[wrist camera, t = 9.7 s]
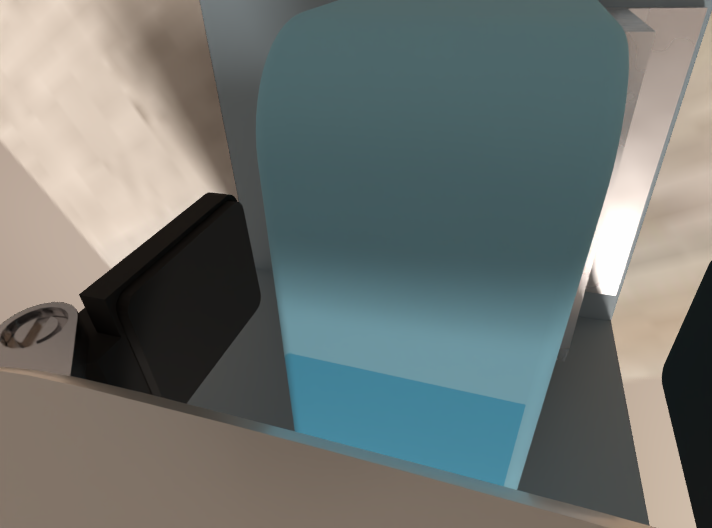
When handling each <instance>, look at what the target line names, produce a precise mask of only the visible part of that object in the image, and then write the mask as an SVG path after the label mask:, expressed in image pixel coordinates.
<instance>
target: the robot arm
mask: <svg viewBox="0 0 712 528" xmlns="http://www.w3.org/2000/svg"><path fill="white" fill-rule="evenodd" d="M79 295H80V297H81V300H82V302H83V304H84V306H85V308H84V309H83V310H82V311H80V312H79V313H78V312H77V310H76V309H75V308H74V307H73V306H72V305H70V304H67V303H64V302H51V303H45V304H40V305H36V306H33V307H30V308H27V309H25V310H23V311H21V312H19V313H17V314H15V315H14V316H12V317H10V318H9V319H7V320H6V321H4V322H3V323H2V324H1V325H0V528H655V527H652V526H648V525H644V524H641V523H637V522H634V521H630V520H627V519H623V518H620V517H616V516H612V515H609V514H605V513H602V512H598V511H594V510H590V509H587V508H583V507H579V506H575V505H572V504H568V503H564V502H560V501H557V500H553V499H549V498H545V497H542V496H538V495H534V494H530V493H526V492H523V491H519V490H515V489H511V488H508V487H504V486H500V485H496V484H493V483H489V482H485V481H481V480H478V479H474V478H470V477H466V476H463V475H459V474H455V473H451V472H448V471H444V470H440V469H436V468H433V467H429V466H425V465H421V464H417V463H413V462H410V461H406V460H402V459H398V458H394V457H390V456H387V455H383V454H379V453H375V452H371V451H368V450H364V449H360V448H356V447H352V446H348V445H345V444H341V443H337V442H333V441H329V440H325V439H321V438H318V437H314V436H310V435H306V434H302V433H298V432H295V431H291V430H287V429H283V428H279V427H275V426H271V425H268V424H264V423H260V422H256V421H252V420H248V419H244V418H240V417H236V416H232V415H228V414H224V413H221V412H217V411H213V410H209V409H205V408H201V407H197V406H193V405H189V404H187V402H188V401H189V400H190V398H191V397H192V396H193V394H194V393H195V392H196V390H197V389H198V388H199V386H200V385H201V384H202V382H203V381H204V380H205V378H206V377H207V376H208V374H209V373H210V372H211V370H212V369H213V368H214V366H215V365H216V364H217V362H218V361H219V360H220V358H221V357H222V356H223V354H224V353H225V352H226V350H227V349H228V348H229V346H230V345H231V344H232V342H233V341H234V340H235V338H236V337H237V336H238V334H239V333H240V332H241V330H242V329H243V328H244V326H245V325H246V324H247V323H248V321H249V320H250V319H251V317H252V316H253V315H254V313H255V312H256V311H257V309H258V307H259V305H260V301H261V292H260V287H259V282H258V277H257V273H256V268H255V263H254V258H253V253H252V248H251V243H250V238H249V233H248V228H247V223H246V219H245V214H244V209H243V206H242V204H241V203H240V202H237V200H236V198H235V197H234V196H232V195H227V194H218V193H207V194H205V195H204V196H202V197H201V198H200V199H199V200H197V201H196V202H195V203H194V204H192V205H191V206H190V207H189V208H187V209H186V210H185V211H184V212H182V213H181V214H180V215H179V216H177V217H176V218H175V219H173V220H172V221H171V222H170V223H168V224H167V225H166V226H165V227H163V228H162V229H161V230H160V231H158V232H157V233H156V234H155V235H153V236H152V237H151V238H150V239H148V240H147V241H146V242H145V243H143V244H142V245H141V246H140V247H138V248H137V249H136V250H134V251H133V252H132V253H131V254H129V255H128V256H127V257H126V258H124V259H123V260H122V261H121V262H119V263H118V264H117V265H116V266H114V267H113V268H112V269H111V270H109V271H108V272H107V273H106V274H104V275H103V276H102V277H101V278H99V279H98V280H97V281H95V282H94V283H93V284H92V285H90V286H89V287H88V288H87V289H86V290H84V291H83V292H82V293H80V294H79ZM662 385H663V389H664V393H665V398H666V402H667V406H668V410H669V414H670V418H671V422H672V427H673V431H674V435H675V439H676V443H677V447H678V451H679V456H680V460H681V464H682V468H683V472H684V477H685V480H686V485H687V489H688V493H689V497H690V502H691V506H692V510H693V514H694V518H695V522H696V527H697V528H712V261H711V262H710V264H709V266H708V268H707V270H706V272H705V275H704V277H703V279H702V281H701V284H700V286H699V288H698V290H697V292H696V295H695V297H694V299H693V301H692V304H691V306H690V308H689V310H688V313H687V315H686V317H685V319H684V322H683V324H682V326H681V328H680V331H679V333H678V335H677V337H676V340H675V342H674V344H673V346H672V348H671V351H670V353H669V355H668V357H667V360H666V362H665V364H664V367H663V372H662Z"/></svg>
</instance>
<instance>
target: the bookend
mask: <svg viewBox="0 0 712 528" xmlns="http://www.w3.org/2000/svg"><path fill="white" fill-rule="evenodd" d="M707 9H708V8H707V7H705V6H697V7H615V8H606V10H607V11H608V12H609V13H610V14H611V15H612V16H613V17H614V18H615V19H616V20H617V21H618V23H619V24H620V25H621V26H622V28H623V30H624V32H625V34H626V37H627V42H628V49H629V76H628V88H627V98H626V105H625V112H624V118H623V124H622V130H621V135H620V140H619V145H618V150H617V155H616V159H615V163H614V168H613V172H612V175H611V179H610V183H609V187H608V190H607V194H606V197H605V201H604V204H603V207H602V210H601V214H600V217H599V220H598V224H597V227H596V230H595V234H594V237H593V240H592V244H591V247H590V250H589V253H588V257H587V260H586V263H585V267H584V270H583V273H582V277H581V280H580V283H579V287H578V290H577V293H576V296H575V300H574V303H573V306H572V310H571V313H570V316H569V320H568V323H567V326H566V330H565V333H564V336H563V339H562V343H561V346H560V349H559V353H558V356H557V359H556V360H562V361H566V358H567V355H568V351H569V348H570V344H571V340H572V337H573V333H574V329H575V326H576V322H577V318H578V315H579V311H580V307H581V304H582V300H583V296H584V293H585V292H592V293H599V294H607V295H614V296H616V293H617V290H618V287H619V284H620V280H621V277H622V274H623V271H624V268H625V265H626V262H627V259H628V255H629V252H630V249H631V246H632V243H633V240H634V237H635V234H636V230H637V227H638V224H639V221H640V218H641V215H642V212H643V209H644V205H645V202H646V199H647V196H648V193H649V190H650V187H651V184H652V180H653V177H654V174H655V171H656V168H657V165H658V162H659V159H660V155H661V152H662V149H663V146H664V143H665V140H666V137H667V134H668V130H669V127H670V124H671V121H672V118H673V115H674V112H675V109H676V105H677V102H678V99H679V96H680V93H681V90H682V87H683V84H684V80H685V77H686V74H687V71H688V68H689V65H690V62H691V59H692V55H693V52H694V49H695V46H696V43H697V40H698V37H699V34H700V30H701V27H702V24H703V21H704V18H705V15H706V12H707Z"/></svg>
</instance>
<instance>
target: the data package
mask: <svg viewBox="0 0 712 528" xmlns="http://www.w3.org/2000/svg"><path fill="white" fill-rule="evenodd" d="M628 76H629V49H628V42H627V37H626V34H625V32H624V30H623V28H622V26H621V25H620V24H619V23H618V21H617V20H616V19H615V18H614V17H613V16H612V15H611V14H610V13H609V12H608V11H607V10H606V8H605V7H604V6H603V5H602V4H601V3H600V2H599V1H598V0H337V1H334V2H331V3H328V4H325V5H322V6H319V7H316V8H313V9H310V10H307V11H304V12H301V13H299V14H297V15H295V16H294V17H292V18H291V19H290V20H289V21H288V22H287V23H286V24H285V25H284V26H283V27H282V29H281V30H280V31H279V33H278V34H277V36H276V38H275V40H274V42H273V44H272V46H271V48H270V51H269V53H268V56H267V58H266V62H265V65H264V69H263V72H262V77H261V81H260V86H259V93H258V100H257V111H256V149H257V159H258V167H259V174H260V182H261V189H262V196H263V204H264V211H265V218H266V226H267V233H268V240H269V247H270V255H271V262H272V269H273V277H274V284H275V291H276V298H277V306H278V313H279V320H280V328H281V335H282V342H283V350H284V357H285V364H286V371H287V379H288V386H289V393H290V401H291V408H292V415H293V423H294V430H295V432H298V433H302V434H306V435H310V436H314V437H318V438H321V439H325V440H329V441H333V442H337V443H341V444H345V445H348V446H352V447H356V448H360V449H364V450H368V451H371V452H375V453H379V454H383V455H387V456H390V457H394V458H398V459H402V460H406V461H410V462H413V463H417V464H421V465H425V466H429V467H433V468H436V469H440V470H444V471H448V472H451V473H455V474H459V475H463V476H466V477H470V478H474V479H478V480H481V481H485V482H489V483H493V484H496V485H500V486H504V487H508V488H511V489H515V490H517V488H518V485H519V482H520V478H521V475H522V472H523V468H524V465H525V462H526V459H527V455H528V452H529V449H530V445H531V442H532V439H533V435H534V432H535V429H536V425H537V422H538V419H539V416H540V412H541V409H542V406H543V402H544V399H545V396H546V392H547V389H548V386H549V382H550V379H551V376H552V373H553V369H554V366H555V363H556V359H557V356H558V353H559V349H560V346H561V343H562V339H563V336H564V333H565V330H566V326H567V323H568V320H569V316H570V313H571V310H572V306H573V303H574V300H575V296H576V293H577V290H578V287H579V283H580V280H581V277H582V273H583V270H584V267H585V263H586V260H587V257H588V253H589V250H590V247H591V244H592V240H593V237H594V234H595V230H596V227H597V224H598V220H599V217H600V214H601V210H602V207H603V204H604V201H605V197H606V194H607V190H608V187H609V183H610V179H611V175H612V172H613V168H614V163H615V159H616V155H617V150H618V145H619V140H620V135H621V130H622V124H623V118H624V112H625V105H626V98H627V88H628Z"/></svg>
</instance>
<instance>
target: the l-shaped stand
mask: <svg viewBox="0 0 712 528" xmlns="http://www.w3.org/2000/svg"><path fill="white" fill-rule="evenodd" d="M334 1H337V0H200V5H201V10H202V15H203V20H204V25H205V30H206V35H207V40H208V46H209V51H210V56H211V61H212V66H213V71H214V76H215V81H216V86H217V92H218V97H219V102H220V107H221V112H222V117H223V122H224V127H225V132H226V138H227V143H228V148H229V153H230V158H231V163H232V168H233V173H234V178H235V184H236V189H237V194H238V199H239V202H240V203H241V204H242V206H243V209H244V214H245V219H246V223H247V228H248V233H249V238H250V243H251V248H252V253H253V258H254V263H255V268H256V273H257V277H258V282H259V287H260V292H261V301H260V305H259V307H258V309H257V311H256V312H255V313H254V315H253V316H252V317H251V319H250V320H249V321H248V323H247V324H246V325H245V326H244V328H243V329H242V330H241V332H240V333H239V334H238V336H237V337H236V338H235V340H234V341H233V342H232V344H231V345H230V346H229V348H228V349H227V350H226V352H225V353H224V354H223V356H222V357H221V358H220V360H219V361H218V362H217V364H216V365H215V366H214V368H213V369H212V370H211V372H210V373H209V374H208V376H207V377H206V378H205V380H204V381H203V382H202V384H201V385H200V386H199V388H198V389H197V390H196V392H195V393H194V394H193V396H192V397H191V398H190V400H189V401H188V402H187V404H189V405H193V406H197V407H201V408H205V409H209V410H213V411H217V412H221V413H224V414H228V415H232V416H236V417H240V418H244V419H248V420H252V421H256V422H260V423H264V424H268V425H271V426H275V427H279V428H283V429H287V430H291V431H295V430H294V423H293V415H292V408H291V401H290V393H289V386H288V379H287V371H286V364H285V357H284V350H283V342H282V335H281V328H280V320H279V313H278V306H277V298H276V291H275V284H274V277H273V269H272V262H271V255H270V247H269V240H268V233H267V226H266V218H265V211H264V204H263V196H262V189H261V182H260V174H259V167H258V159H257V149H256V111H257V100H258V93H259V86H260V81H261V77H262V72H263V69H264V65H265V62H266V58H267V56H268V53H269V51H270V48H271V46H272V44H273V42H274V40H275V38H276V36H277V34H278V33H279V31H280V30H281V29H282V27H283V26H284V25H285V24H286V23H287V22H288V21H289V20H290V19H291V18H292V17H294V16H295V15H297V14H299V13H301V12H304V11H307V10H310V9H313V8H316V7H319V6H322V5H325V4H328V3H331V2H334ZM598 1H599V2H600V3H601V4H602V5H603V6H604V7H605V8H615V7H697V6H705V7H707V8H708V9H707V12H706V15H705V18H704V21H703V24H702V27H701V30H700V34H699V37H698V40H697V43H696V46H695V49H694V52H693V55H692V59H691V62H690V65H689V68H688V71H687V74H686V77H685V80H684V84H683V87H682V90H681V93H680V96H679V99H678V102H677V105H676V109H675V112H674V115H673V118H672V121H671V124H670V127H669V130H668V134H667V137H666V140H665V143H664V146H663V149H662V152H661V155H660V159H659V162H658V165H657V168H656V171H655V174H654V177H653V180H652V184H651V187H650V190H649V193H648V196H647V199H646V202H645V205H644V209H643V212H642V215H641V218H640V221H639V224H638V227H637V230H636V234H635V237H634V240H633V243H632V246H631V249H630V252H629V255H628V259H627V262H626V265H625V268H624V271H623V274H622V277H621V280H620V284H619V287H618V290H617V293H616V296H614V295H607V294H599V293H592V292H585V293H584V296H583V300H582V304H581V307H580V311H579V315H578V318H577V322H576V326H575V329H574V333H573V337H572V340H571V344H570V348H569V351H568V355H567V358H566V361H562V360H556V363H555V366H554V369H553V373H552V376H551V379H550V382H549V386H548V389H547V392H546V396H545V399H544V402H543V406H542V409H541V412H540V416H539V419H538V422H537V425H536V429H535V432H534V435H533V439H532V442H531V445H530V449H529V452H528V455H527V459H526V462H525V465H524V468H523V472H522V475H521V478H520V482H519V485H518V488H517V490H519V491H523V492H526V493H530V494H534V495H538V496H542V497H545V498H549V499H553V500H557V501H560V502H564V503H568V504H572V505H575V506H579V507H583V508H587V509H590V510H594V511H598V512H602V513H605V514H609V515H612V516H616V517H620V518H623V519H627V520H630V521H634V522H637V523H641V524H644V525H648V526H649V520H648V515H647V510H646V505H645V499H644V494H643V489H642V484H641V478H640V473H639V468H638V463H637V457H636V452H635V447H634V441H633V436H632V431H631V425H630V420H629V415H628V410H627V404H626V399H625V394H624V388H623V383H622V378H621V373H620V367H619V362H618V357H617V351H616V346H615V341H614V336H613V330H612V325H611V319H612V316H613V313H614V310H615V306H616V303H617V300H618V297H619V294H620V291H621V288H622V285H623V282H624V279H625V276H626V273H627V270H628V266H629V263H630V260H631V257H632V254H633V251H634V248H635V245H636V242H637V239H638V236H639V233H640V230H641V226H642V223H643V220H644V217H645V214H646V211H647V208H648V205H649V202H650V199H651V196H652V193H653V190H654V186H655V183H656V180H657V177H658V174H659V171H660V168H661V165H662V162H663V159H664V156H665V153H666V150H667V146H668V143H669V140H670V137H671V134H672V131H673V128H674V125H675V122H676V119H677V116H678V113H679V110H680V106H681V103H682V100H683V97H684V94H685V91H686V88H687V85H688V82H689V79H690V76H691V73H692V70H693V66H694V63H695V60H696V57H697V54H698V51H699V48H700V45H701V42H702V39H703V36H704V33H705V29H706V26H707V23H708V20H709V17H710V14H711V11H712V0H598Z"/></svg>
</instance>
